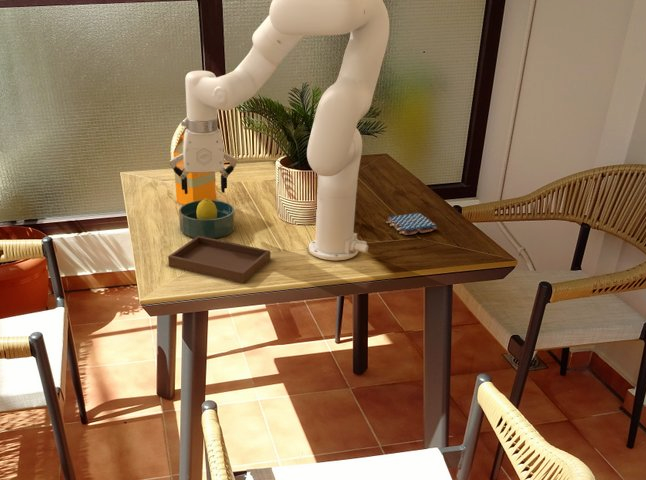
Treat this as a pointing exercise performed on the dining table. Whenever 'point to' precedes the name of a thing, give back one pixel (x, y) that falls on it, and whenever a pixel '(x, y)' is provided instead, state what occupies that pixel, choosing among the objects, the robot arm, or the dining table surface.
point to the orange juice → (193, 182)
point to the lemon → (206, 210)
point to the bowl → (207, 227)
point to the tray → (219, 259)
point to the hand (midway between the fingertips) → (204, 191)
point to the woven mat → (411, 223)
